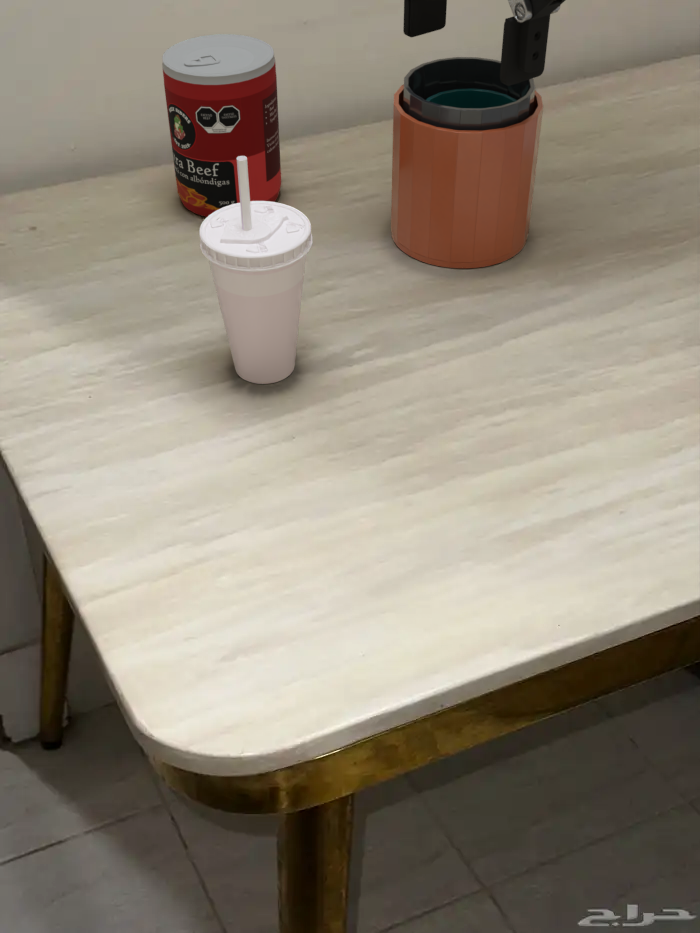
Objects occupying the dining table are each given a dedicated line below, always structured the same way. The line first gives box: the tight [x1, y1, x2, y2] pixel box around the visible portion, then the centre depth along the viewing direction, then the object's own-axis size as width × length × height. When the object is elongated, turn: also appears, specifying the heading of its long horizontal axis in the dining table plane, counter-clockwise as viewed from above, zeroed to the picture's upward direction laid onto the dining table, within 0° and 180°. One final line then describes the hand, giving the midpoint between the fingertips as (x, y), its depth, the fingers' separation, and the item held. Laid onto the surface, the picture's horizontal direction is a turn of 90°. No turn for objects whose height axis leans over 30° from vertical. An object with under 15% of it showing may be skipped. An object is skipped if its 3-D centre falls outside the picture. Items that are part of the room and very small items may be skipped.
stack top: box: [403, 56, 536, 131], centre depth 77 cm, size 9×9×11 cm
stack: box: [390, 83, 544, 269], centre depth 77 cm, size 10×10×10 cm
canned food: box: [161, 33, 282, 218], centre depth 81 cm, size 8×8×11 cm
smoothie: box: [198, 156, 313, 385], centre depth 64 cm, size 6×6×14 cm
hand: (471, 54), depth 72 cm, fingers open, 9 cm apart
